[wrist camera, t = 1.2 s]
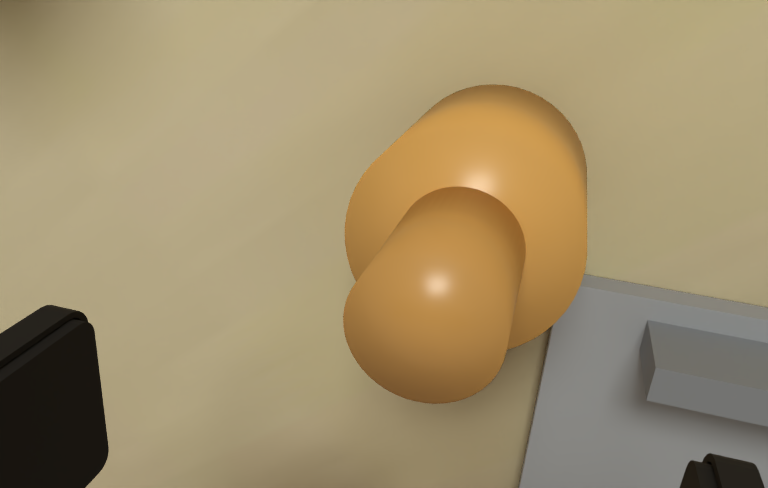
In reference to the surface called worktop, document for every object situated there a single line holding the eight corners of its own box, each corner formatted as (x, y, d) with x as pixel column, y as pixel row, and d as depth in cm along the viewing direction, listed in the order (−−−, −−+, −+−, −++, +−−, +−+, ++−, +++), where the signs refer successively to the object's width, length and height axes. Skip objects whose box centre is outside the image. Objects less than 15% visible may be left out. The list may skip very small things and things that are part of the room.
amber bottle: (605, 97, 21) (620, 212, 11) (567, 276, 24) (554, 493, 14) (411, 73, 23) (278, 158, 13) (395, 244, 25) (275, 422, 15)
